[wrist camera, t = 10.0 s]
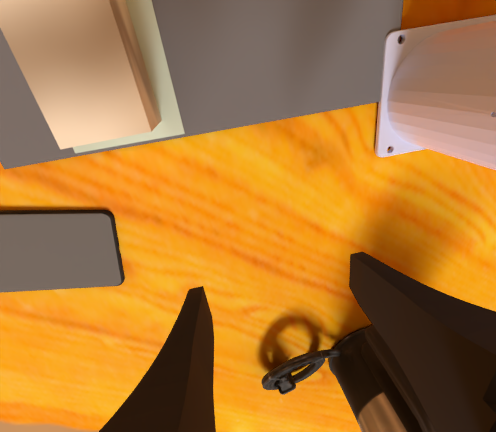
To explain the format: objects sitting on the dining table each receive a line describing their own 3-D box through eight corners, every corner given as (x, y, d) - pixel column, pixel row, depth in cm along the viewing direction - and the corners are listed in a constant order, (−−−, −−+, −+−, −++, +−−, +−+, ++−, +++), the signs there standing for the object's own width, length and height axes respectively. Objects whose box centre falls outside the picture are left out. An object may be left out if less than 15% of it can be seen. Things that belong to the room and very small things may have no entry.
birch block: (161, 120, 17) (151, 131, 14) (89, 134, 17) (60, 149, 13) (111, -48, 13) (79, -91, 10) (18, -33, 13) (-50, -73, 10)
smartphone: (124, 286, 23) (-94, 299, 20) (127, 279, 23) (-83, 290, 21) (111, 211, 20) (-148, 214, 17) (114, 206, 20) (-133, 208, 18)
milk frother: (410, 353, 34) (540, 525, 21) (300, 408, 36) (356, 598, 23) (375, 283, 28) (531, 470, 14) (243, 355, 29) (277, 577, 16)
